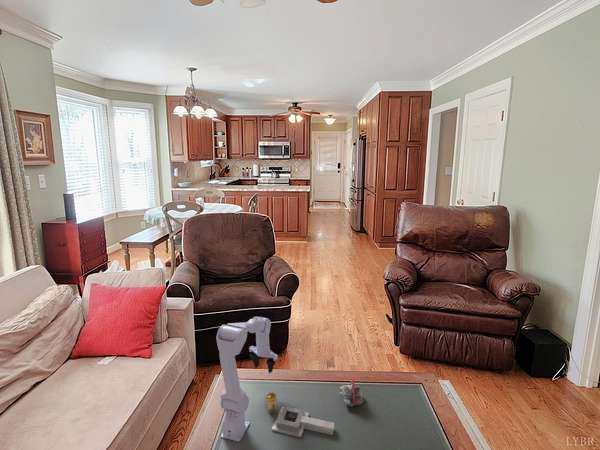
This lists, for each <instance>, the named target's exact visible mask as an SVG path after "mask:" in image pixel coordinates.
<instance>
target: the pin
mask: <svg viewBox="0 0 600 450" xmlns="http://www.w3.org/2000/svg"><path fill="white" fill-rule="evenodd" d="M265 400H266V408H267V411H266V412H267V413H268V414H275V413H276V412H277V403H276V400H277V394H276V393H275V392H269V393H267V394H266V395H265Z"/></svg>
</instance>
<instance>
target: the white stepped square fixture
mask: <svg viewBox="0 0 600 450" xmlns="http://www.w3.org/2000/svg"><path fill="white" fill-rule="evenodd" d="M287 418H292V419H295V421H290V420H287ZM305 430H310V431H313V432H318V433H322V434H326V435H330V436H333V435H334V432H335V422H332V421H327V420H322V419H319V418H314V417H310V412H307V411H305V410H304V409H300V408H296V407H295V408H294V407H291V406H285V405H284V406H281V408H280V410H279V413H278V414H277V417H276V418H275V421H274V423H273V425H272V428H271V432H276V433H279V434H280V433H281V434H285V435H287V436H288V435H289V436H292V437H298V438H302V436H303V433H304V431H305Z"/></svg>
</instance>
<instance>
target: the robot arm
mask: <svg viewBox="0 0 600 450" xmlns="http://www.w3.org/2000/svg"><path fill="white" fill-rule="evenodd" d="M271 326H272V322H271V319H269V317H268V318H267V317H263V316H253V318H250V319H249V320H248V321H246V322H245V321H244V322H234V323H233V322H232V323H231V322H230V323H226V324H222V325H221V326H220V327H219V328H218V330H217V334H216V337H215V338H216V339H215V340H216V344H217V349H218V351H219V353H218V354H219V361H220V367H221V372H222V377H223V382H224V383H223V384H224V387H225V388H224V389H223V390H222V392H221V394H220V401H219V403H220V407H221V409H223V412H225V417H224V420H223V421H222V425H221V428H222V434H221V435H220V437H221V438H223V439H227V440H231V441H234V442H241V440H242V438H243V436H244V434H245V432H246V431H247V429H248V427H249V426H250V422H249V421H246V415H245V414H246V411H247V410H248V407H249V403H250V401H249V397H248V395H247V392H246V391H244V389H242V388H241V387H240V386H241V385H240V380H239V374H238V367H237V362H236V356H237V355H240V353H241V351H242V349H243V347H244V345H245V343H246V341H247V337H248V332H249V333H251V334H254V333H255V343H256V346H254V345H251V346H249V347H248V350H249V351H248V352H250V354H249V358H251V360H252V362H253V364H254V368H256V369H257V368H258V367H259V366H260V357H261V358H268V359H267V360H266V361H265V362H266V364H267V371H268V373H269V374H271V373H272V372H273V370H274V365H275V364H276V362H277V360H278V354H276V353H275V352H273V351H272V350H271V348H270V332H271Z"/></svg>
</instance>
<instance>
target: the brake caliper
mask: <svg viewBox="0 0 600 450" xmlns="http://www.w3.org/2000/svg"><path fill="white" fill-rule="evenodd" d="M339 389H340V390H341V391H342V392H339V394H341V395H342V397H343V400H342V403H343V404H345V405H346V406H348V407H350V408H351V407H354V406H360V405H361V406H362V404H363V403H364V398H363V391H362V389H361V386H359V385H357V386H355V378H352V379H351V381H350V384H348V385H347V384H346V385H342V386H340V387H339Z"/></svg>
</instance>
